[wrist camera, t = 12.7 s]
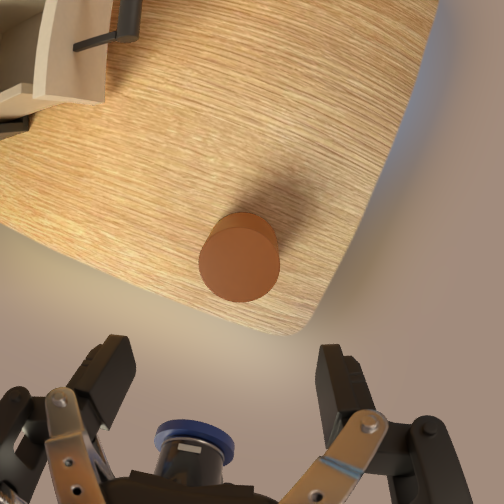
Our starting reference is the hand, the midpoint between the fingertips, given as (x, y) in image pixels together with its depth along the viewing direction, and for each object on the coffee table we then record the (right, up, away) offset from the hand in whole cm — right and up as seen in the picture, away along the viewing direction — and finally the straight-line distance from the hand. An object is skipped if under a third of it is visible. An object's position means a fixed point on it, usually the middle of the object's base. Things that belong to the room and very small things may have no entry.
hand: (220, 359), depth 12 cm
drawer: (-15, +23, +6) cm, 28 cm away
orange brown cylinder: (+1, +5, +13) cm, 14 cm away
